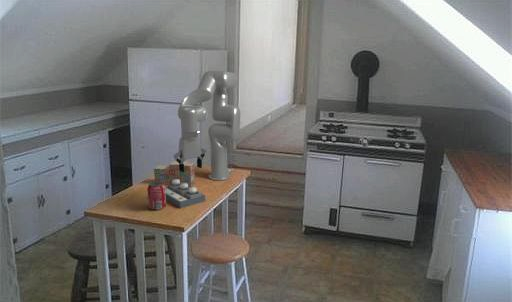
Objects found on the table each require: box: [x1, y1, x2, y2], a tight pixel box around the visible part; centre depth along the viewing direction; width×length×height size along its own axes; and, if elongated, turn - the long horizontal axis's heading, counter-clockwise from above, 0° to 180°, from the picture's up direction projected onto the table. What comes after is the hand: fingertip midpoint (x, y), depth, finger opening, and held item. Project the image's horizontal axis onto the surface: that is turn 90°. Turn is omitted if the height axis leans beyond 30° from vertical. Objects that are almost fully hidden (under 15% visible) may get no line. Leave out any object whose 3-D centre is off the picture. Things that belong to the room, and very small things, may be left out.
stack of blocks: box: [153, 160, 196, 187], centre depth 218 cm, size 21×6×12 cm, turn 78°
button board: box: [165, 183, 206, 209], centre depth 198 cm, size 14×23×5 cm, turn 41°
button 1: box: [172, 179, 180, 185], centre depth 204 cm, size 4×4×2 cm
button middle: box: [180, 183, 188, 189], centre depth 199 cm, size 4×4×2 cm
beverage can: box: [147, 180, 167, 211], centre depth 185 cm, size 8×8×12 cm
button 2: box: [188, 186, 198, 194], centre depth 193 cm, size 4×4×2 cm
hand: (190, 169), depth 190 cm, fingers open, 9 cm apart
